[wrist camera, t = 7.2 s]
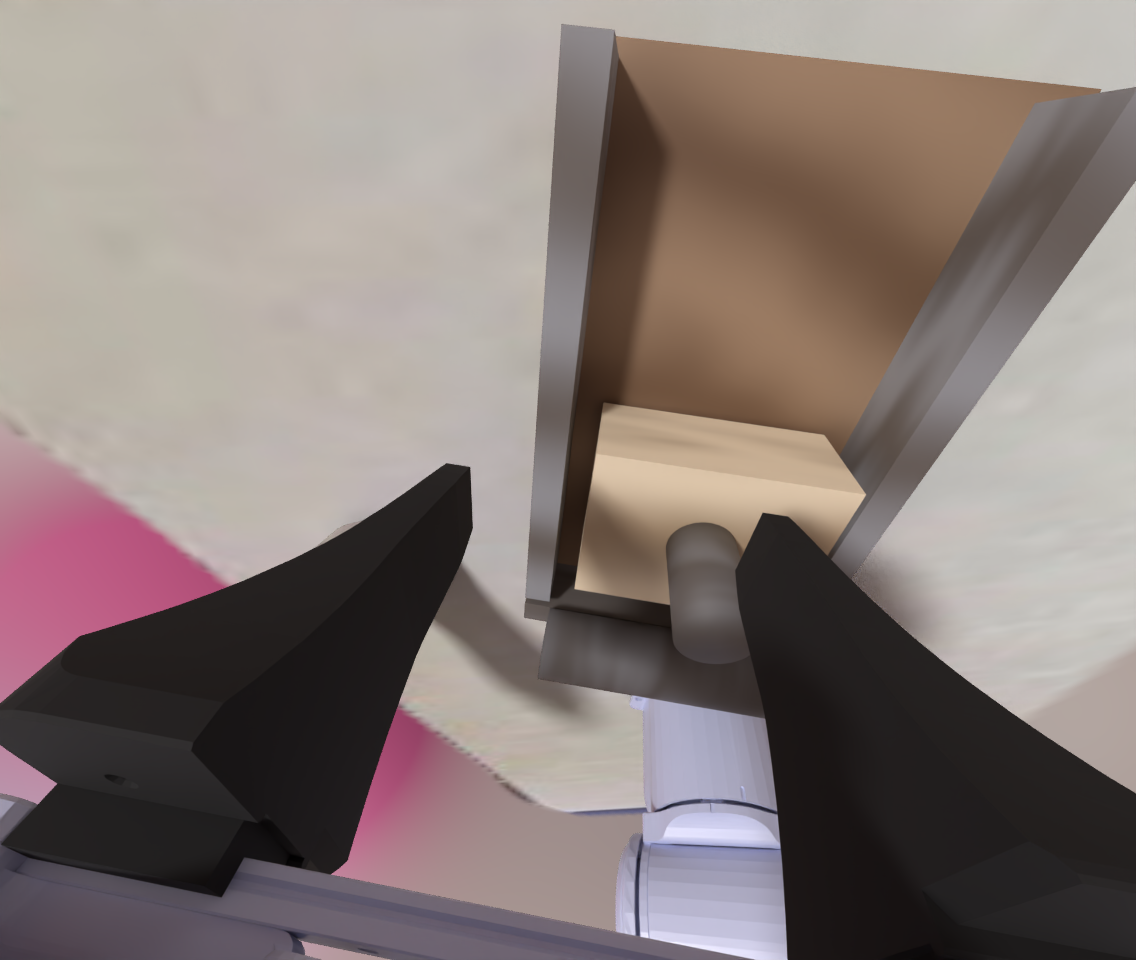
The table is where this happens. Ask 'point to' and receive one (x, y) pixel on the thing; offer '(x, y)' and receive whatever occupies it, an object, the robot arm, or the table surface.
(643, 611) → the bay
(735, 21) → the table surface
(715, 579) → the tan wooden block
